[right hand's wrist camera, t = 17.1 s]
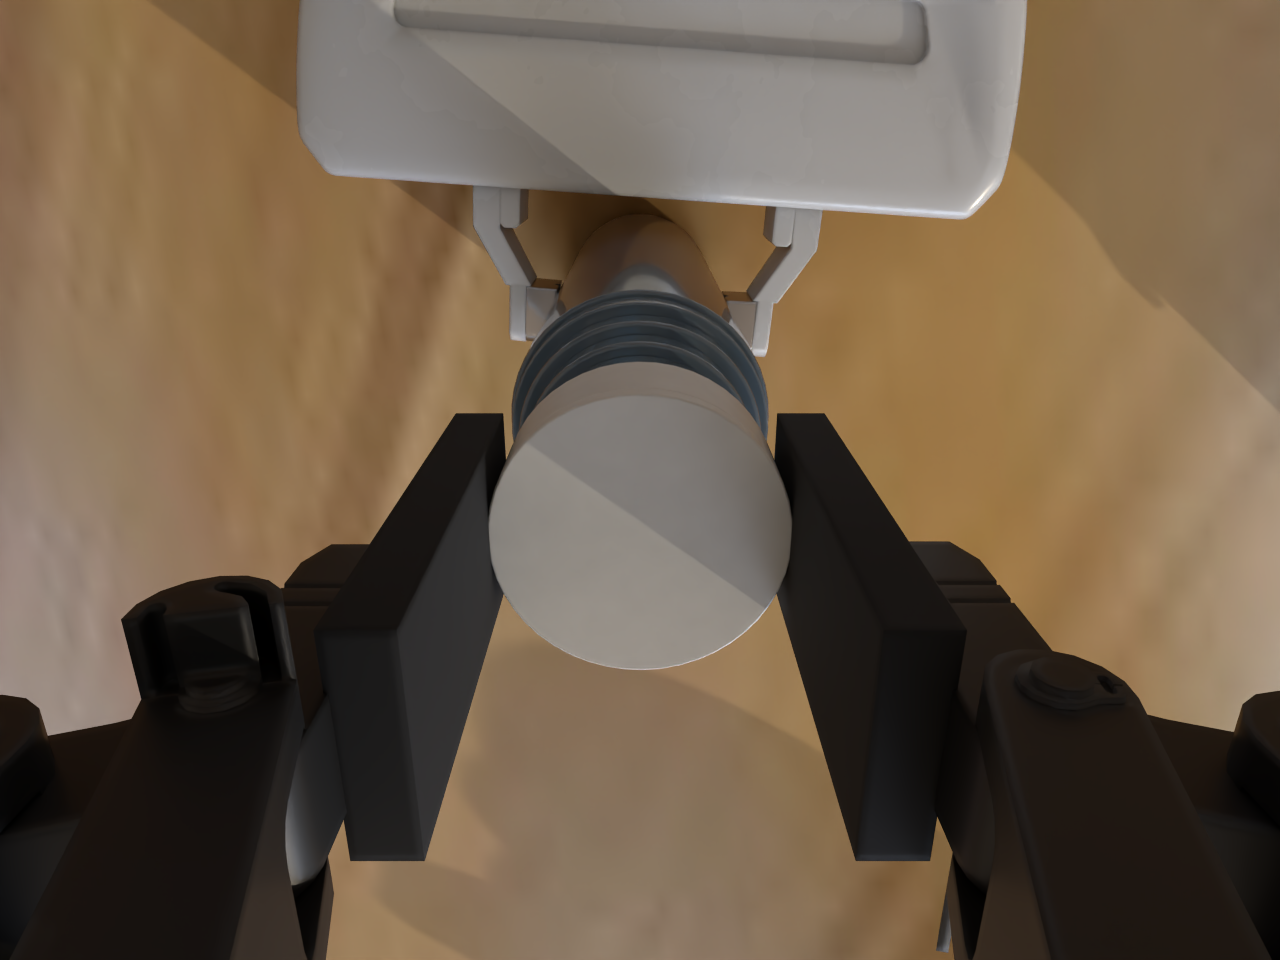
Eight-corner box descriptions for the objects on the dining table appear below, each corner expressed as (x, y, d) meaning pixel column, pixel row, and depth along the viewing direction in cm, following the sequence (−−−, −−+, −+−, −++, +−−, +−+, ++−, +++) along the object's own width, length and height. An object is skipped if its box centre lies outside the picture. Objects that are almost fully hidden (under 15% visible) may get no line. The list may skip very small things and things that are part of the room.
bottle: (664, 186, 33) (707, 280, 12) (731, 307, 34) (877, 581, 13) (546, 260, 34) (390, 471, 13) (618, 374, 35) (585, 727, 14)
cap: (450, 496, 14) (424, 545, 13) (636, 300, 13) (635, 326, 11) (643, 655, 15) (644, 719, 14) (831, 489, 14) (857, 537, 13)
